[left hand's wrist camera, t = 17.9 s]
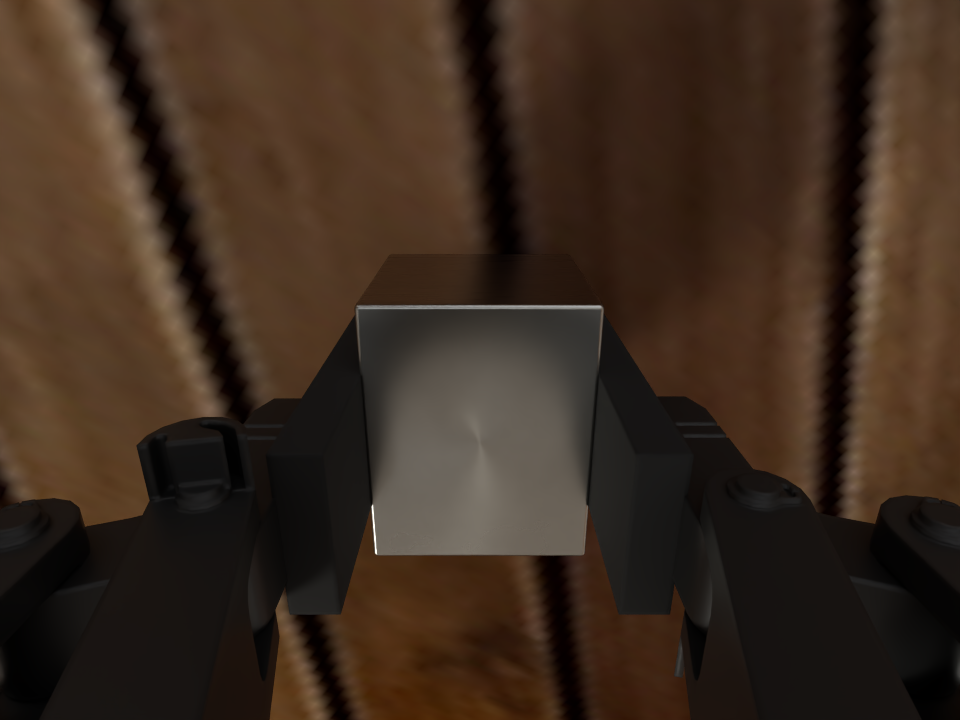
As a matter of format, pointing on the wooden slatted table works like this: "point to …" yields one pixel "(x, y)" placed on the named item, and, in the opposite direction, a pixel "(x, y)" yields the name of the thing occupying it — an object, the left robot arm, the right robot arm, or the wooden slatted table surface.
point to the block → (479, 403)
